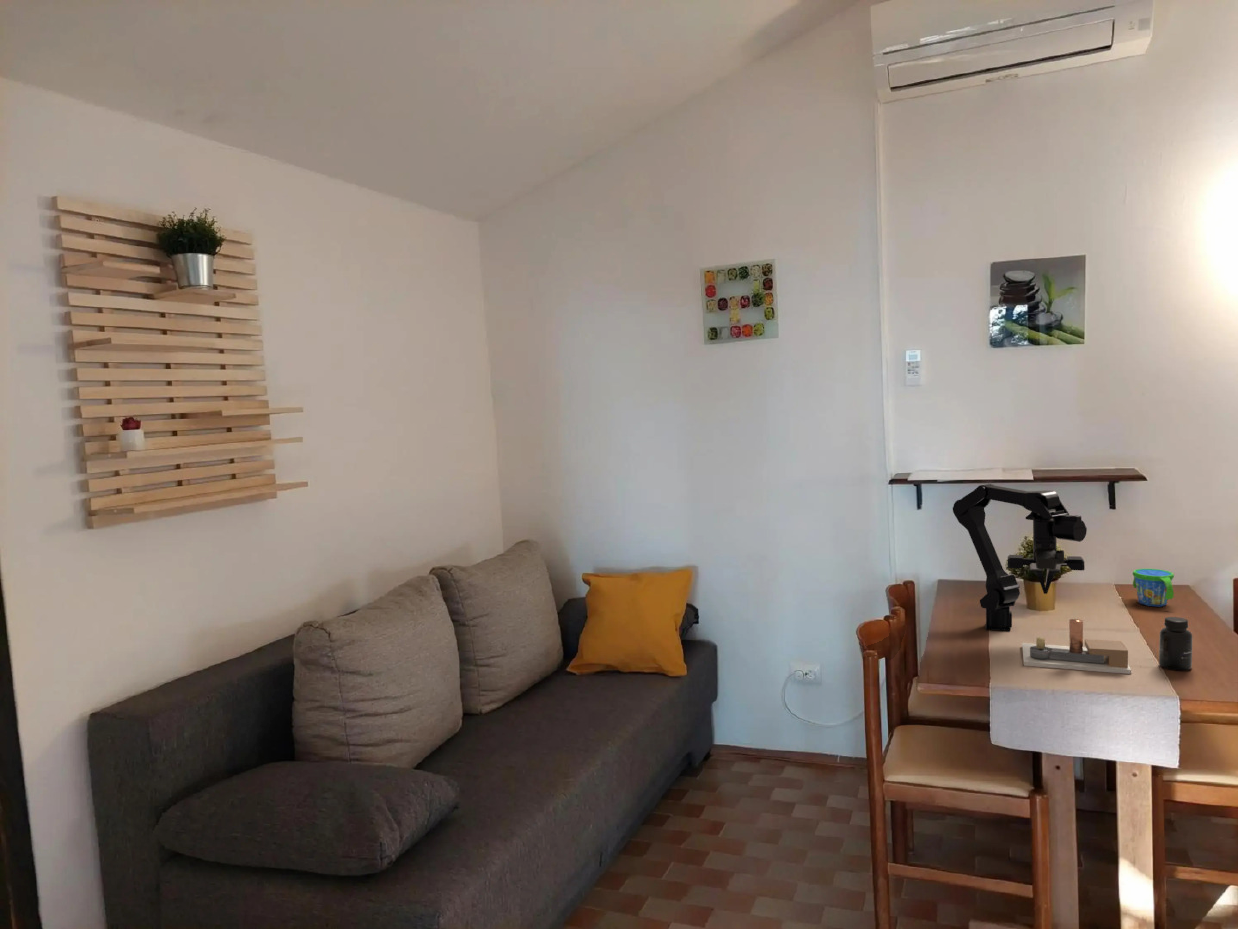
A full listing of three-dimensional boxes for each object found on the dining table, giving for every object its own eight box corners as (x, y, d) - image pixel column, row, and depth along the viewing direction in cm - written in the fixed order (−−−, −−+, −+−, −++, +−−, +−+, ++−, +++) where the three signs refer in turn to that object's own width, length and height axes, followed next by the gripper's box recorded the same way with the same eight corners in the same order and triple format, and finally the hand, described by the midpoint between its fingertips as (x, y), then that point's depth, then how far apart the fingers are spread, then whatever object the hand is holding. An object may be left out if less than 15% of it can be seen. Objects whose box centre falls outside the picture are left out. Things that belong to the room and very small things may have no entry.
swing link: (1029, 658, 222) (1029, 620, 221) (1029, 652, 226) (1029, 614, 225) (1104, 664, 214) (1104, 625, 214) (1102, 658, 219) (1102, 619, 218)
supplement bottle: (1192, 673, 210) (1193, 624, 209) (1158, 669, 214) (1159, 621, 212) (1191, 664, 216) (1192, 617, 215) (1159, 661, 219) (1159, 614, 218)
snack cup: (1185, 610, 263) (1185, 577, 262) (1149, 611, 263) (1149, 578, 262) (1156, 597, 278) (1156, 566, 277) (1122, 598, 279) (1122, 567, 278)
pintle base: (1024, 665, 220) (1023, 642, 220) (1022, 646, 235) (1022, 624, 235) (1131, 674, 211) (1131, 649, 210) (1122, 653, 226) (1122, 631, 226)
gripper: (1007, 541, 234) (1008, 598, 235) (1086, 543, 227) (1086, 602, 228) (1007, 534, 244) (1008, 589, 246) (1082, 535, 237) (1082, 592, 238)
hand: (1045, 593), depth 239 cm, fingers closed
